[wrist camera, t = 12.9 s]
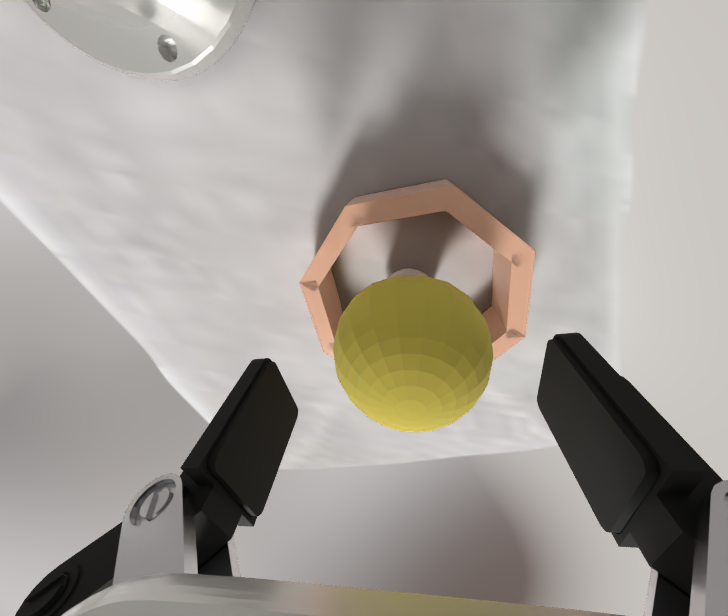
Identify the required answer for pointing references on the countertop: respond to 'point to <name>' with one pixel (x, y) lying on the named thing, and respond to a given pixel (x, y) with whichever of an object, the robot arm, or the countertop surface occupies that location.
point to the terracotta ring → (426, 198)
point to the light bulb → (413, 352)
